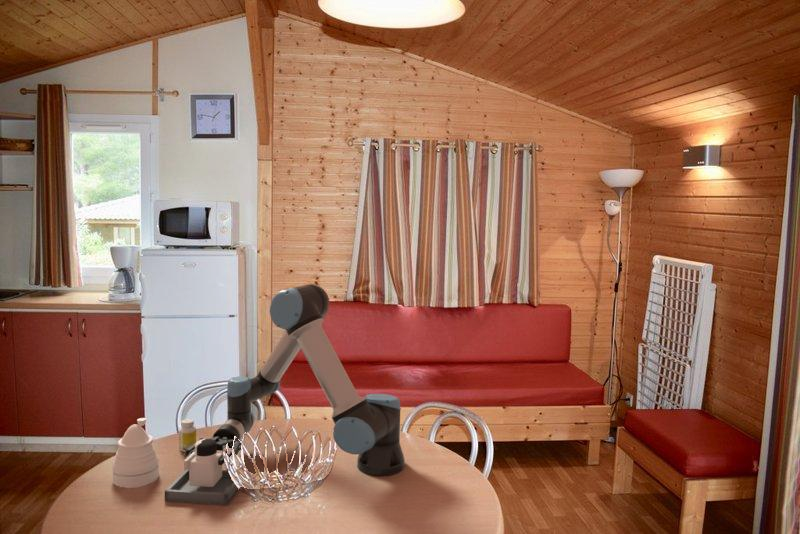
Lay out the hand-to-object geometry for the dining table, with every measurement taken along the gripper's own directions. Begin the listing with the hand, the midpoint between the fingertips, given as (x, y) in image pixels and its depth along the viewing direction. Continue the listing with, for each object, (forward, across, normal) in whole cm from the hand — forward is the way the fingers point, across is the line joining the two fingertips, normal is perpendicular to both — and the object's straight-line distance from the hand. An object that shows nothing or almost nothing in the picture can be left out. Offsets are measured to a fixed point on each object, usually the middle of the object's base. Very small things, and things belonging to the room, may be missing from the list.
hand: (198, 466), depth 176 cm
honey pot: (-10, +24, -10) cm, 28 cm away
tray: (-5, 0, -10) cm, 11 cm away
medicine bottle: (-5, 0, -7) cm, 8 cm away
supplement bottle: (-33, +18, -10) cm, 39 cm away
